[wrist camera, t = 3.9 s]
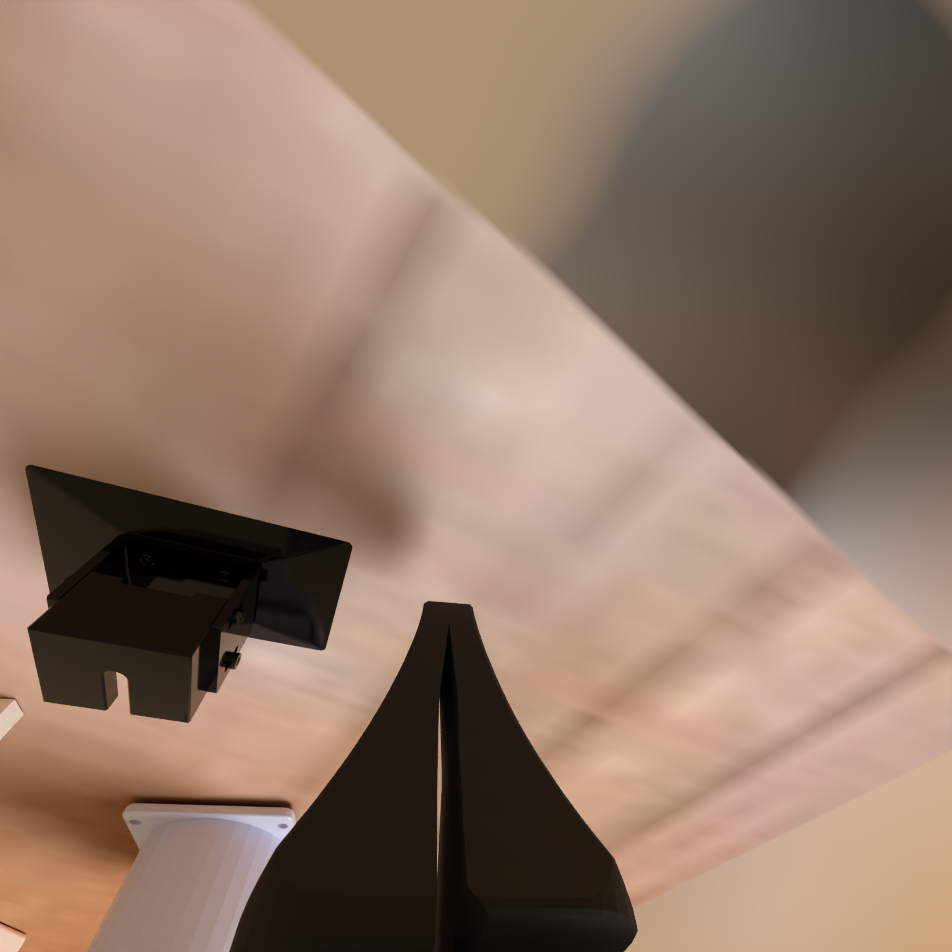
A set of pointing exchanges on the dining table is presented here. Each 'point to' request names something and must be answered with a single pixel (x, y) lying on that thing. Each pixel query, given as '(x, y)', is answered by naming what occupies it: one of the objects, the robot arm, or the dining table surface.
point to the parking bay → (8, 715)
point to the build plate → (166, 593)
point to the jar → (10, 939)
